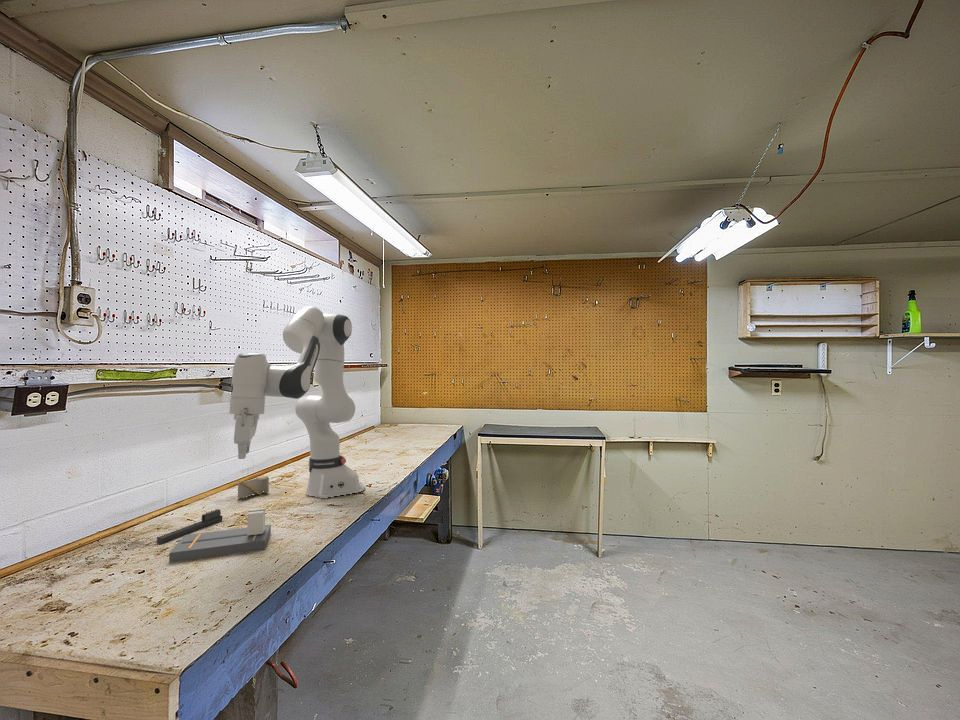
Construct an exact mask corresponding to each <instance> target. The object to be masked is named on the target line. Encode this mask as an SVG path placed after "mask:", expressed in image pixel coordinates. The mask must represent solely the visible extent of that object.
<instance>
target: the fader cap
mask: <svg viewBox="0 0 960 720" xmlns="http://www.w3.org/2000/svg"><path fill="white" fill-rule="evenodd" d="M246 514H247V515H246V516H247V517H246V521H247V523H246V524H247V525H246V528H247V536H248V535H255V534H263V533H264V530H265V525H266V507H260V508H251V509H249V510H248V512H247V513H246Z"/></svg>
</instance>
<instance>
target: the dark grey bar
mask: <svg viewBox="0 0 960 720" xmlns="http://www.w3.org/2000/svg"><path fill="white" fill-rule="evenodd" d="M219 521H220V522H222V521H223V516H222V515H221V508H220V509H219V508H216V509H214V510H211V511H209V512H207V511H206V513H203V514H201V521H198V522H194V523H193V524H191V525H187V526H185V527H182V528H179V529H177V530H173V531H171V532H169V533H165V534H162V535H161V536H157V537H156V543H157V544H158V545H159V544H160V545H162V544H166V543H168V542H170V541H173V540H176V539H178V538H182V537H184V535H189V534H192V533H193V532H197V531H199V529H200V530H201V529H204V527H205V528H208V527H210V526H213V525H215V524H217V522H218V523H219ZM191 532H192V533H191Z"/></svg>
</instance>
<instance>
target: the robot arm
mask: <svg viewBox="0 0 960 720" xmlns="http://www.w3.org/2000/svg"><path fill="white" fill-rule="evenodd" d="M352 330H353V327H352V322H351V320H350V318H349V317H348V316H347V315H344V314H339V313H338V314H333V313H323V312H322V310H320V309H319V308H317V307H316V306H309V305H308V306H305V307H303V308H301V309H300V310H299V311H297V313H295V314H294V315H293V316H292V318H290V320H289V321H288V322H287V324H286V325H285V327H284V328H283V330H282V340H283V341H284V344H285V345H286V347H287V348H289V350H291V351H293V352H295V353H296V354H297V353H298V354H300V356H299V358H298V361H297V363H295V364H292V365H272V364H271V363H270V362H268V361H267V356H266V355H267V354H265V353H262V352H243V353H240V354H238V355H236V357H235V361H234V364H233V368H232V374H231V384H232V392H231V394H230V400H229V401H230V402H229V412H228V413H229V414H230V415H233V416H234V417H233V420H235V424H234V434H233V443H234V444H235V445H236V444H237V458H238V459H239V460H244V459H246V458H247V454H249V453H250V447H251V442H252V439H253V438H254V436H255V435H256V432H257V427H258V422H259V419H260V415H264V414H265V408H266V407H265V405H266V404H265V403H266V397H277V398H278V397H279V398H289V399H294V400H295V399H298V400H297V402H296V404H295V409H294V410H295V414H296V416H297V417H298V419H300V420H301V422H302V423H303V424H304V426H305V428H306V430H307V433H308V437H309V446H310V447H309V449H310V450H309V451H310V453H309V454H310V457H309V459H308V472H309V477H308V483H307V488H306V491H305V495H306V494H307V495H306V496H308V495H309V496H308V497H311V496H315V497H314V498H319V497H320V498H319V499H322V498H325V499H329V498H328V497H331V498H335V497H334V496H338V497H341V496H340V495H344V496H347V495H346V494H350V495H353V494H352V493H357V492H361V491H363V490H364V491H365V489H364V487H365V484H364V483H363V482H360V479H359V476H358V473H357V471H356V470H354V469H352V468H351V467H349V466H347V465H346V463H347V459H346V458H345V457H344V455H340V443H341V442H340V436H339V434H338V433H337V432H336V431H335V430H333V428H332V427H331V424H339V423H345V422H349V421H351V420H352V419H353V417H354V416H355V413H356V405H355V402H354V400H353V398H351V397H350V396H349V394H348V393H347V391H346V389H345V388H346V387H345V385H344V368H345V367H344V366H345V343H346V342H347V341H348V340H349V339H350V337H351V335H352V332H353V331H352ZM313 373H314V376H312V375H313ZM312 377H313V379H314V381H315V382H316V383H317V384H318V385H319V386H320V387H321V391H322V394H310V395H306V394H307V392H308V391H309V389H310V387H311V382H312V381H311V380H312ZM304 395H305V396H304ZM330 423H331V424H330ZM364 491H363V492H364ZM361 493H362V492H361ZM357 494H358V493H357Z"/></svg>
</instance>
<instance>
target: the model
mask: <svg viewBox="0 0 960 720" xmlns="http://www.w3.org/2000/svg"><path fill="white" fill-rule="evenodd" d="M263 491H264V492H269V493H270V478H269V476H268V475H265V474H264V475H263V474H262V475H259V476H255V478H252V479H248V480H245V481H241V480H238V483H237V500H238V499H240V498H243V497H246V496H249V495H252V494H256V495H257V494H262V493H260V492H263ZM264 492H263V493H264ZM246 498H247V497H246ZM243 499H244V498H243ZM240 500H241V499H240Z"/></svg>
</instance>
